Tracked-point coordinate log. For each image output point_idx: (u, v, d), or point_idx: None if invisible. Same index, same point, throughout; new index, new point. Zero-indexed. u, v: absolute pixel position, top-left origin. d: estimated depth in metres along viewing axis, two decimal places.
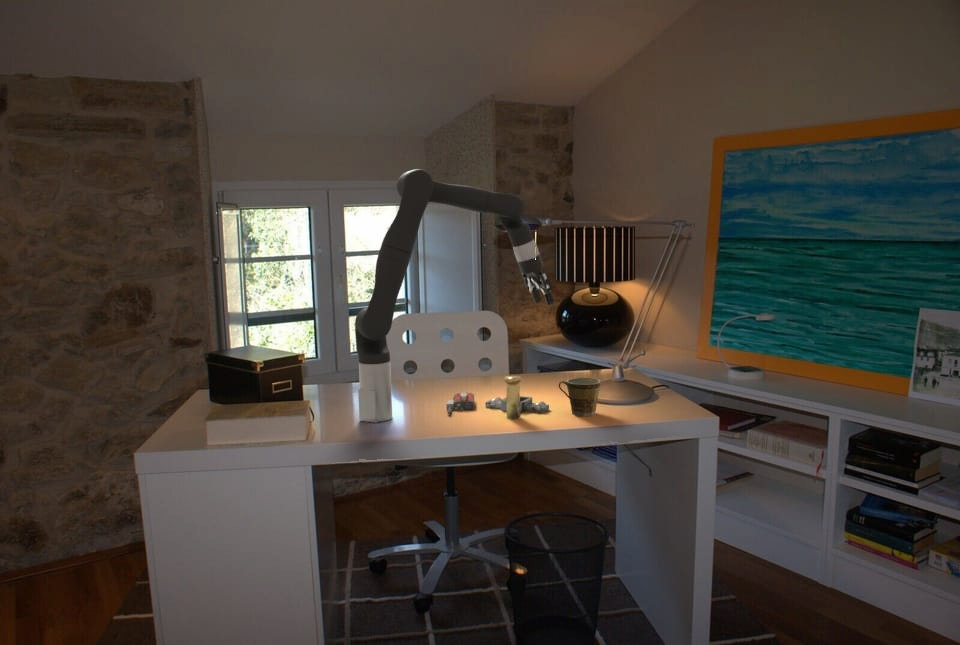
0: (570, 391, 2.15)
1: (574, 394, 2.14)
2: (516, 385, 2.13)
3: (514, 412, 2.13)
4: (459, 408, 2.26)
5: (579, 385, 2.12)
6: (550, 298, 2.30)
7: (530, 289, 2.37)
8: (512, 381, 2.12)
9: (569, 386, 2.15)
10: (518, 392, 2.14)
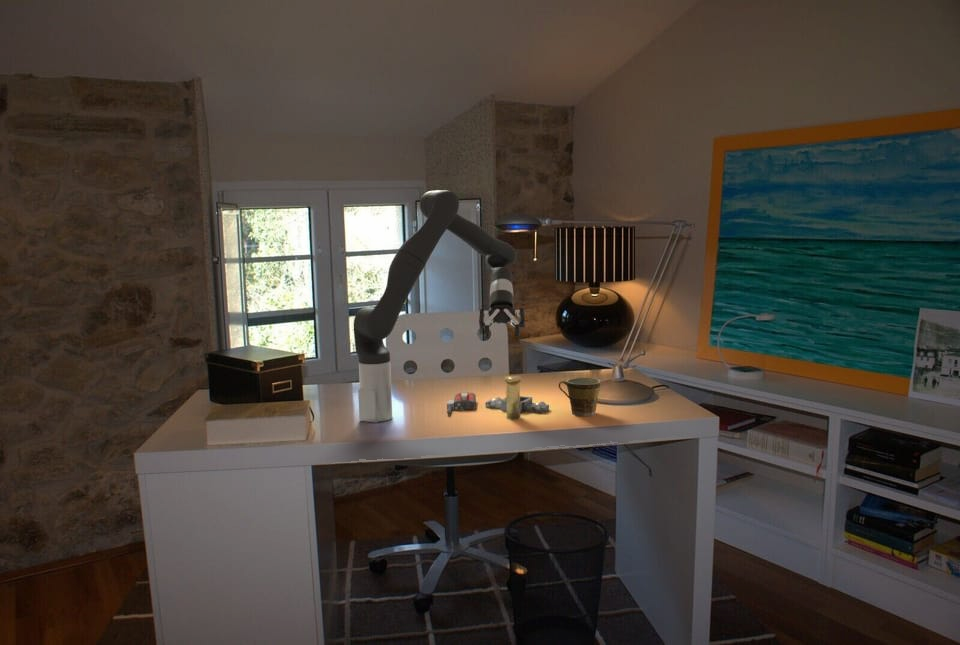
0: (570, 391, 2.15)
1: (574, 394, 2.14)
2: (516, 385, 2.13)
3: (514, 412, 2.13)
4: (459, 408, 2.26)
5: (579, 385, 2.12)
6: None
7: (488, 322, 2.27)
8: (512, 381, 2.12)
9: (569, 386, 2.15)
10: (518, 392, 2.14)
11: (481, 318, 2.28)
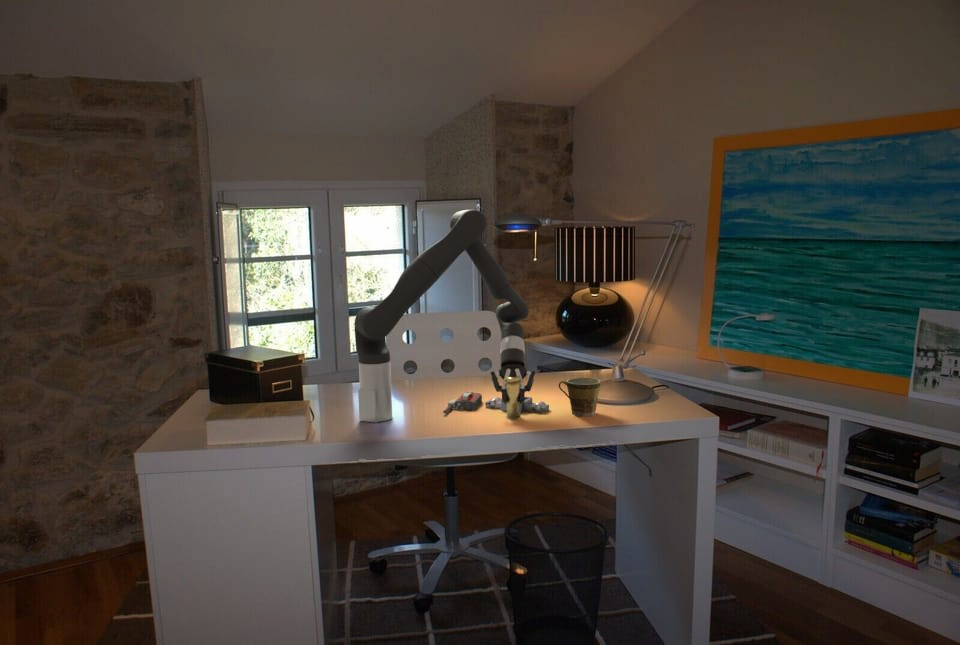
0: (570, 391, 2.15)
1: (574, 394, 2.14)
2: (516, 385, 2.13)
3: (514, 412, 2.13)
4: (460, 408, 2.26)
5: (579, 385, 2.12)
6: None
7: (505, 386, 2.15)
8: (512, 381, 2.12)
9: (569, 386, 2.15)
10: (518, 392, 2.14)
11: (496, 381, 2.16)
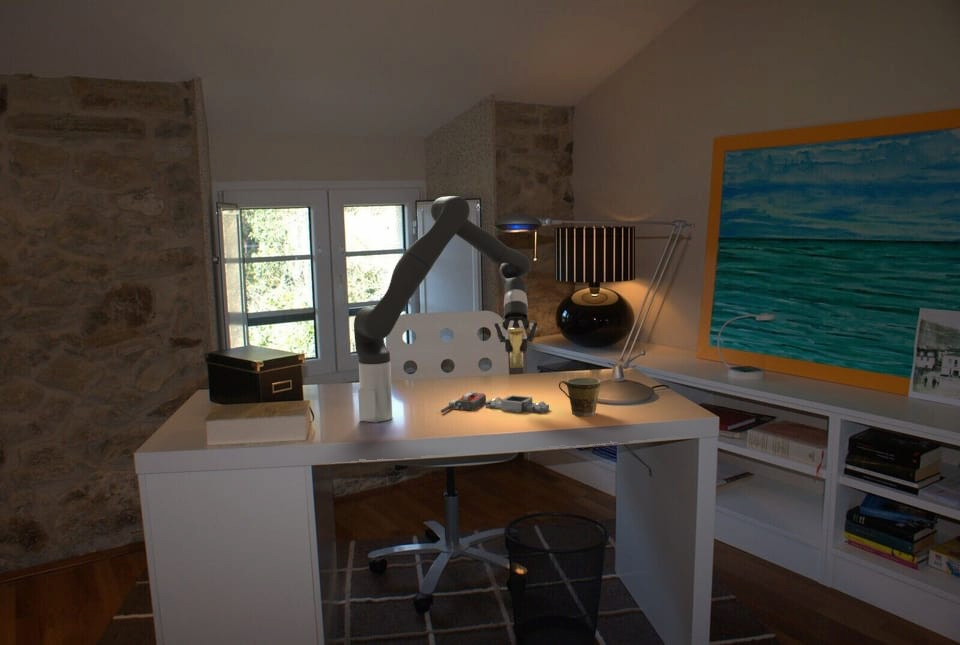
0: (570, 391, 2.15)
1: (574, 394, 2.14)
2: (519, 335, 2.21)
3: (517, 361, 2.22)
4: (460, 407, 2.27)
5: (579, 385, 2.12)
6: None
7: (508, 336, 2.23)
8: (515, 331, 2.20)
9: (569, 386, 2.15)
10: (521, 341, 2.22)
11: (499, 332, 2.25)
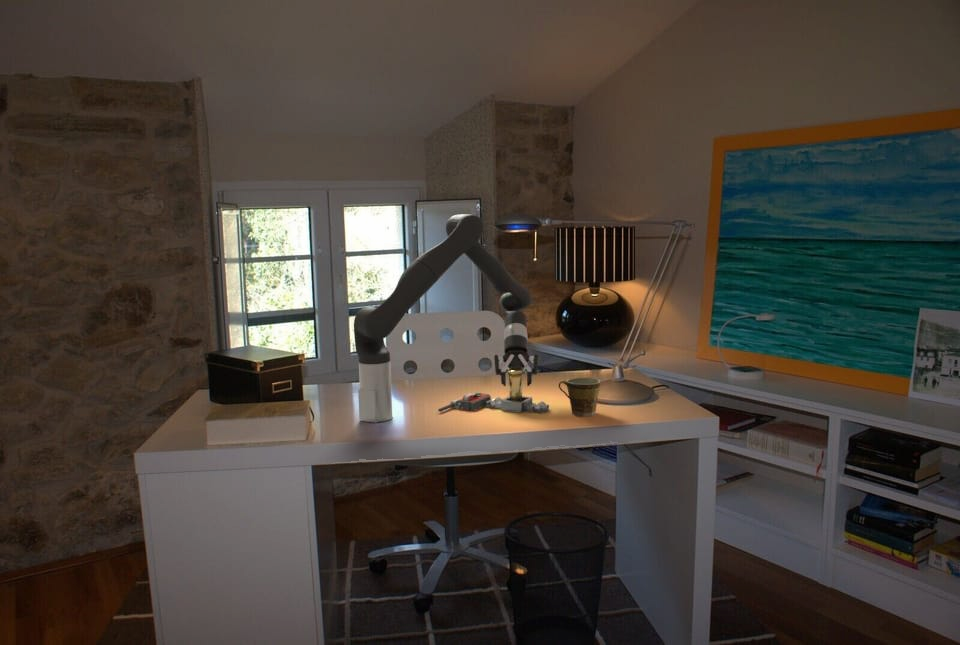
0: (570, 391, 2.15)
1: (574, 394, 2.14)
2: (518, 377, 2.23)
3: None
4: (460, 407, 2.27)
5: (579, 385, 2.12)
6: None
7: (504, 369, 2.26)
8: (514, 374, 2.22)
9: (569, 386, 2.15)
10: (521, 384, 2.24)
11: (497, 364, 2.27)
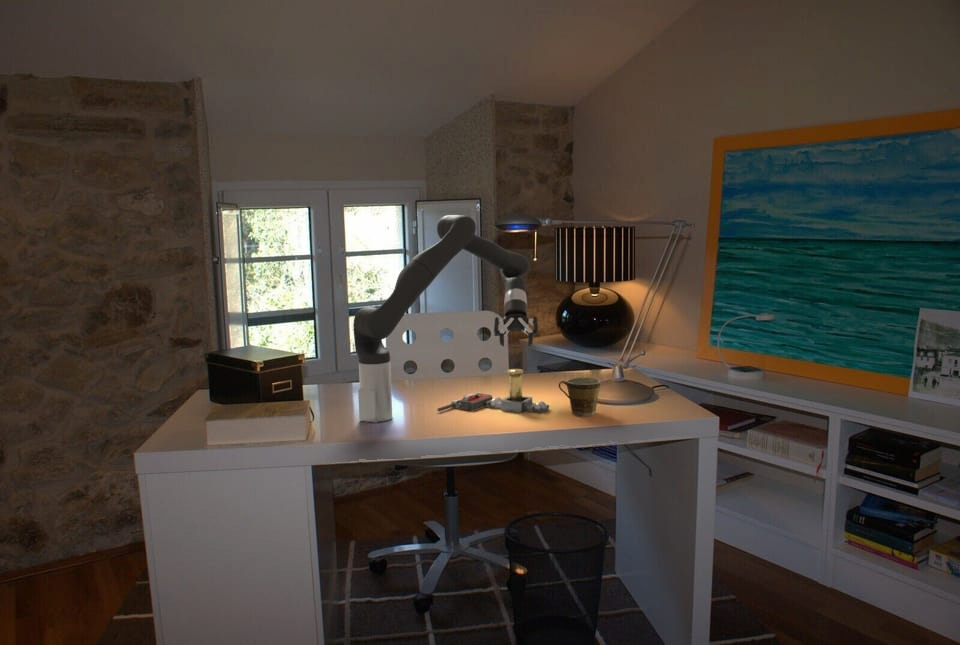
0: (570, 391, 2.15)
1: (574, 394, 2.14)
2: (518, 377, 2.23)
3: None
4: (460, 407, 2.27)
5: (579, 385, 2.12)
6: (532, 339, 2.35)
7: (502, 330, 2.37)
8: (515, 374, 2.22)
9: (569, 386, 2.15)
10: (521, 384, 2.24)
11: (496, 326, 2.38)
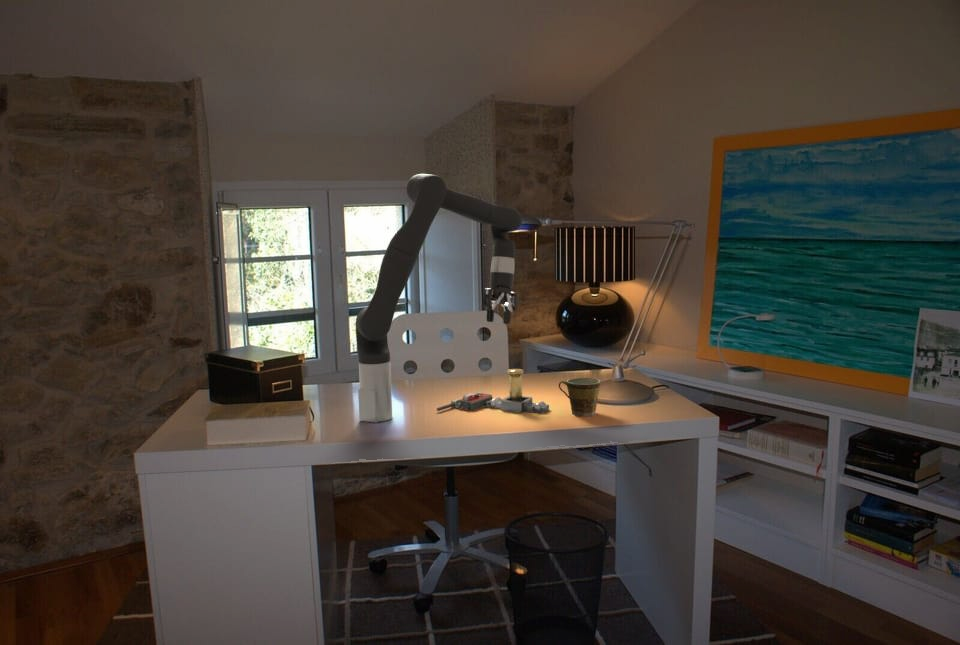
0: (570, 391, 2.15)
1: (574, 394, 2.14)
2: (518, 377, 2.23)
3: None
4: (460, 407, 2.27)
5: (579, 385, 2.12)
6: None
7: (494, 306, 2.29)
8: (515, 374, 2.22)
9: (569, 386, 2.15)
10: (521, 384, 2.24)
11: (490, 300, 2.27)
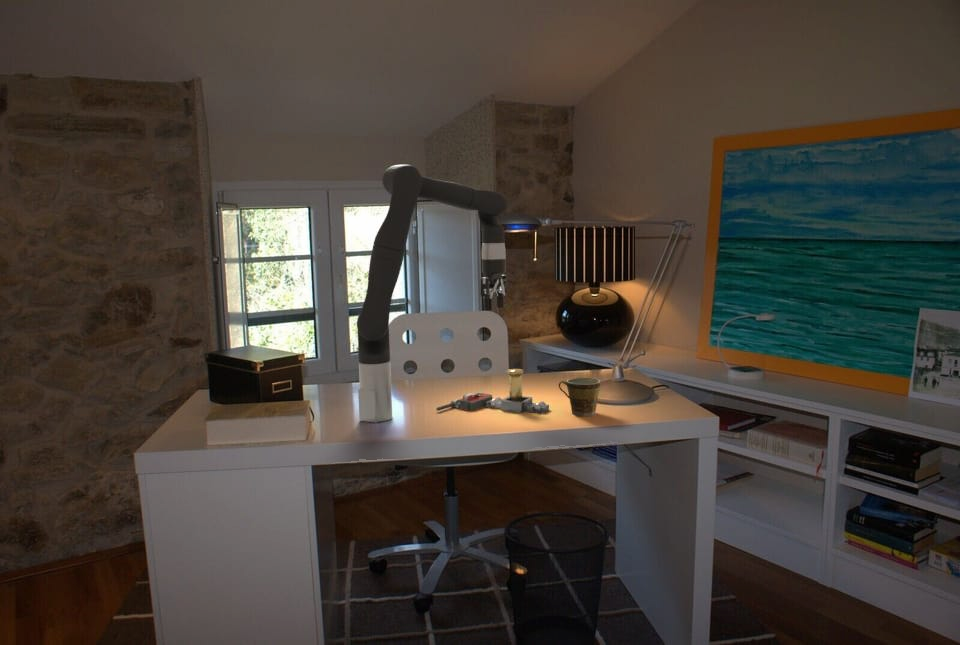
0: (570, 391, 2.15)
1: (574, 394, 2.14)
2: (518, 377, 2.23)
3: None
4: (460, 407, 2.27)
5: (579, 385, 2.12)
6: None
7: (491, 294, 2.26)
8: (515, 374, 2.22)
9: (569, 386, 2.15)
10: (521, 384, 2.24)
11: (488, 290, 2.24)
